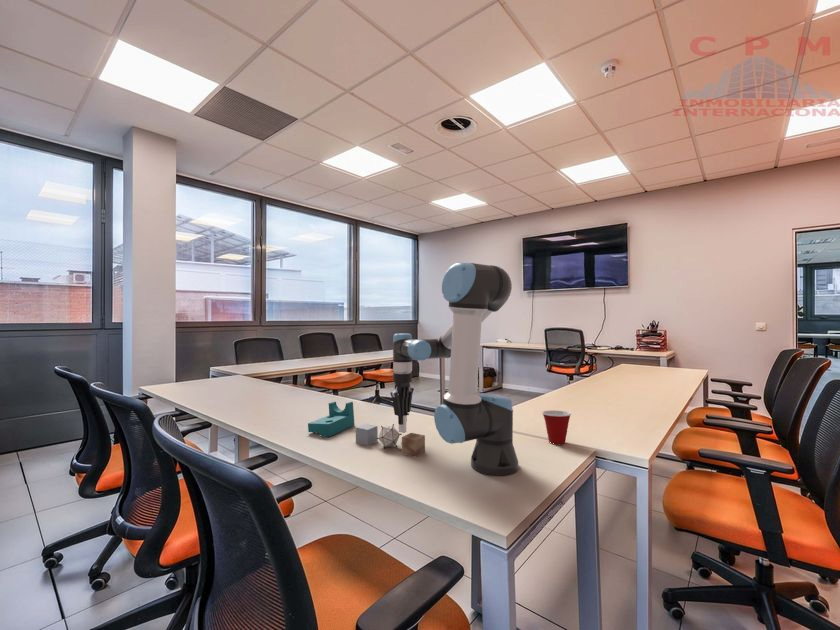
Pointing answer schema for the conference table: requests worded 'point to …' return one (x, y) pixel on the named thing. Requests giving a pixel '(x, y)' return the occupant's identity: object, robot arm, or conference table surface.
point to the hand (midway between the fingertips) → (402, 431)
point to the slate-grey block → (366, 434)
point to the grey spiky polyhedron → (389, 436)
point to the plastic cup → (556, 425)
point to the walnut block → (413, 444)
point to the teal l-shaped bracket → (334, 420)
